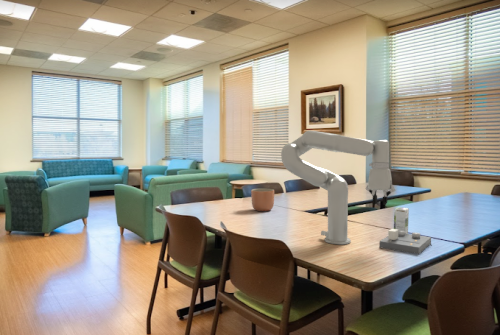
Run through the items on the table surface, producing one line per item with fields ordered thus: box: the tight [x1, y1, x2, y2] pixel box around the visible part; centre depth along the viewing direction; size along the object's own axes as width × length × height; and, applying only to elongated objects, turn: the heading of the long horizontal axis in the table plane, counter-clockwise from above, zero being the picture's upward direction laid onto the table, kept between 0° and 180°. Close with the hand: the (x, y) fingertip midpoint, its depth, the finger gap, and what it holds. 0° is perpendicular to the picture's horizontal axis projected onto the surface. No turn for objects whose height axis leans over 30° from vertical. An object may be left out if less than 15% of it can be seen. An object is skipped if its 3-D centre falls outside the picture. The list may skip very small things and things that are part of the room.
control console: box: [379, 231, 432, 255], centre depth 169 cm, size 17×22×5 cm
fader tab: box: [387, 228, 398, 240], centre depth 169 cm, size 3×5×4 cm, turn 141°
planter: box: [250, 188, 275, 212], centre depth 265 cm, size 17×17×15 cm
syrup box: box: [393, 206, 410, 234], centre depth 188 cm, size 6×6×14 cm
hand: (379, 203), depth 172 cm, fingers open, 3 cm apart
